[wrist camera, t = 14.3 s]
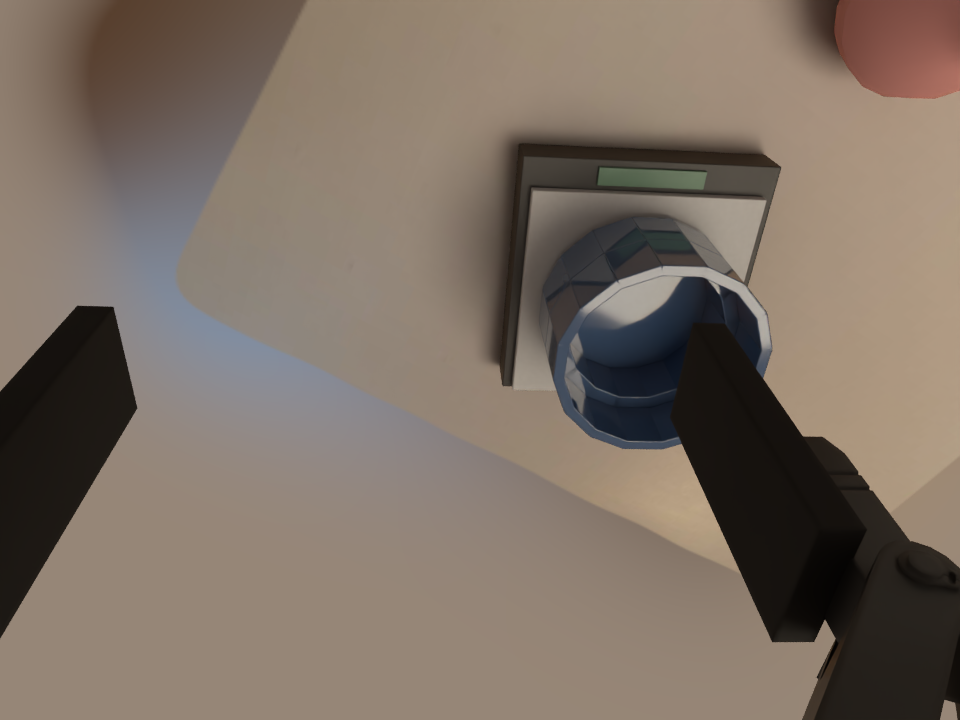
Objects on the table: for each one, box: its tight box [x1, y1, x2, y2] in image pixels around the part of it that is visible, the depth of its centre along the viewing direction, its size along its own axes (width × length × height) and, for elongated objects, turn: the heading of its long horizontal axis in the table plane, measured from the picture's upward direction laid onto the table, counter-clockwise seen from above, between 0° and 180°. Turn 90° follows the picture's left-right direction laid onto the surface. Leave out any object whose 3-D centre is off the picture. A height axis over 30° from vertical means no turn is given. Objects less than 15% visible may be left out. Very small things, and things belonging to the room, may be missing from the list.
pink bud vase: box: [834, 0, 960, 99], centre depth 33 cm, size 8×8×12 cm
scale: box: [500, 144, 781, 391], centre depth 44 cm, size 15×14×3 cm
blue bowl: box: [539, 217, 772, 449], centre depth 40 cm, size 11×11×7 cm
